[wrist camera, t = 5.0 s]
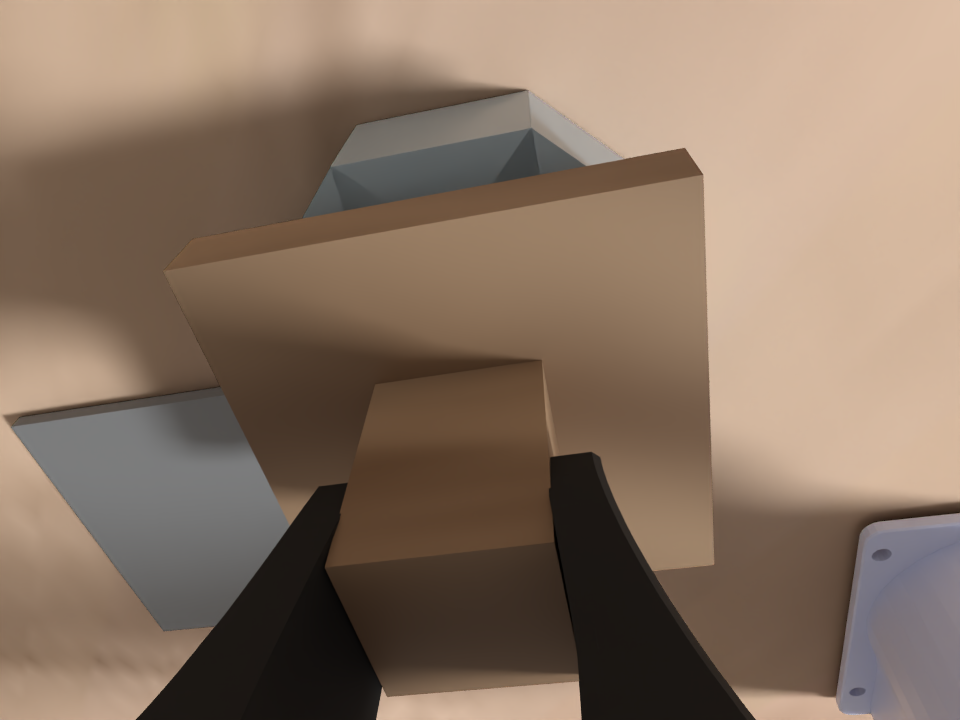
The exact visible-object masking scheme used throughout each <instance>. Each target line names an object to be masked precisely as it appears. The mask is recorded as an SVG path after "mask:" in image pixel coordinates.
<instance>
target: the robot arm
mask: <svg viewBox="0 0 960 720" xmlns="http://www.w3.org/2000/svg"><path fill="white" fill-rule="evenodd" d="M550 483H551V488H549V498H550V504H551V509H552V515H553V520H554V525H555V531H556V536H557V541H558V547H559V552H560V557H561V563H562V568H563V573H564V579H565V584H566V589H567V595H568V600H569V605H570V611H571V616H572V621H573V628H574V635H575V643H576V650H577V658H578V672H579V687H580V701H581V716H582V720H756V719H755V718H754V717H753V716H752V714H751V713H750V712H749V711H748V709H747V708H746V707H745V705H744V704H743V703H742V701H741V700H740V699H739V697H738V696H737V695H736V694H735V692H734V691H733V690H732V688H731V687H730V686H729V684H728V683H727V682H726V680H725V679H724V678H723V676H722V675H721V674H720V672H719V671H718V670H717V668H716V667H715V665H714V664H713V663H712V661H711V660H710V658H709V657H708V656H707V654H706V653H705V651H704V650H703V648H702V647H701V646H700V644H699V643H698V641H697V640H696V638H695V637H694V636H693V634H692V633H691V631H690V630H689V628H688V627H687V625H686V623H685V622H684V620H683V619H682V617H681V616H680V614H679V613H678V611H677V610H676V608H675V607H674V605H673V604H672V602H671V601H670V599H669V597H668V596H667V594H666V593H665V591H664V589H663V588H662V586H661V585H660V583H659V581H658V580H657V578H656V576H655V575H654V573H653V571H652V569H651V568H650V566H649V564H648V562H647V561H646V559H645V557H644V555H643V554H642V552H641V550H640V548H639V547H638V545H637V543H636V541H635V540H634V538H633V536H632V534H631V532H630V530H629V528H628V526H627V524H626V522H625V520H624V518H623V516H622V514H621V512H620V510H619V508H618V506H617V503H616V501H615V499H614V496H613V494H612V492H611V489H610V487H609V484H608V482H607V479H606V476H605V473H604V470H603V466H602V462H601V458H600V457H599V456H598V455H596V454H595V453H593V452H585V453H577V454H569V455H562V456H554V457H550ZM347 484H348V483H341V484H334V485H326V486H319V487H318V488H317V489H316V491H315V492H314V494H313V495H312V496H311V498H310V499H309V500H308V502H307V503H306V504H305V506H304V507H303V508H302V510H301V511H300V512H299V514H298V515H297V517H296V518H295V519H294V521H293V522H292V523H291V525H290V526H289V528H288V529H287V530H286V532H285V533H284V535H283V536H282V537H281V539H280V540H279V542H278V543H277V544H276V546H275V547H274V549H273V550H272V551H271V553H270V554H269V555H268V557H267V558H266V560H265V561H264V562H263V564H262V565H261V567H260V568H259V569H258V571H257V572H256V573H255V575H254V576H253V577H252V579H251V580H250V581H249V583H248V584H247V585H246V587H245V588H244V589H243V591H242V592H241V593H240V595H239V596H238V597H237V599H236V600H235V601H234V603H233V604H232V605H231V607H230V608H229V609H228V611H227V612H226V613H225V615H224V616H223V617H222V618H221V620H220V621H219V622H218V623H217V625H216V626H215V627H214V628H213V630H212V631H211V632H210V633H209V635H208V636H207V637H206V638H205V640H204V641H203V642H202V643H201V644H200V646H199V647H198V648H197V649H196V651H195V652H194V653H193V654H192V656H191V657H190V658H189V659H188V660H187V662H186V663H185V664H184V665H183V667H182V668H181V669H180V670H179V672H178V673H177V674H176V675H175V676H174V677H173V679H172V680H171V681H170V682H169V683H168V684H167V686H166V687H165V688H164V689H163V690H162V691H161V692H160V694H159V695H158V696H157V697H156V698H155V699H154V700H153V701H152V703H151V704H150V705H149V706H148V707H147V708H146V709H145V710H144V711H143V713H142V714H141V715H140V716H139V717H138V718H137V719H136V720H376V717H377V712H378V706H379V701H380V696H381V690H382V685H381V683H380V681H379V679H378V677H377V675H376V673H375V671H374V669H373V667H372V665H371V662H370V660H369V658H368V656H367V654H366V652H365V650H364V648H363V646H362V644H361V642H360V640H359V638H358V636H357V634H356V631H355V629H354V627H353V625H352V623H351V621H350V619H349V617H348V615H347V613H346V611H345V609H344V607H343V605H342V603H341V600H340V598H339V596H338V594H337V592H336V590H335V588H334V586H333V584H332V582H331V580H330V578H329V576H328V574H327V571H326V569H325V564H326V561H327V557H328V553H329V550H330V546H331V542H332V539H333V537H334V534H335V531H336V529H337V526H338V524H339V520H340V516H341V514H339V513H340V510H341V506H342V503H343V499H344V495H345V492H346V488H347ZM836 702H837V705H838V707H839V710H840V711H841V712H842V713H845V714H848V715H857V714H872V717H873V719H874V720H960V513H955V514H946V515H936V516H927V517H917V518H908V519H899V520H889V521H880V522H875V523H872V524H870V525H868V526H866V527H865V528H864V529H863V530H862V531H861V534H860V536H859V543H858V550H857V557H856V564H855V570H854V577H853V584H852V591H851V598H850V605H849V611H848V618H847V625H846V632H845V639H844V646H843V652H842V659H841V666H840V673H839V680H838V687H837V693H836Z"/></svg>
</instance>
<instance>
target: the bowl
mask: <svg viewBox="0 0 960 720" xmlns="http://www.w3.org/2000/svg"><path fill="white" fill-rule="evenodd" d="M622 159H624V158H622V157H621V156H619V155H618V154H617V153H615V152H614V151H612V150H611V149H610V148H608V147H607V146H605V145H604V144H603V143H601V142H600V141H598V140H597V139H596V138H594V137H593V136H591V135H590V134H589V133H587V132H586V131H584V130H583V129H582V128H580V127H579V126H577V125H576V124H575V123H573V122H572V121H570V120H569V119H568V118H566V117H565V116H563V115H562V114H561V113H559V112H558V111H556V110H555V109H554V108H552V107H551V106H549V105H548V104H547V103H545V102H544V101H543V100H541V99H540V98H538V97H537V96H536V95H534V94H533V93H531V92H530V91H529V90H528V91H523V92H518V93H513V94H508V95H503V96H498V97H493V98H488V99H483V100H478V101H473V102H468V103H463V104H458V105H453V106H448V107H443V108H438V109H433V110H428V111H424V112H419V113H414V114H409V115H404V116H399V117H394V118H389V119H384V120H379V121H374V122H369V123H364V124H359V125H356V127H355V128H354V130H353V131H352V133H351V134H350V136H349V138H348V139H347V141H346V142H345V144H344V146H343V147H342V149H341V150H340V152H339V154H338V155H337V157H336V158H335V160H334V162H333V163H332V165H331V166H330V169H329V171H328V173H327V174H326V176H325V178H324V180H323V182H322V183H321V185H320V187H319V189H318V191H317V192H316V194H315V196H314V198H313V200H312V202H311V203H310V205H309V207H308V209H307V211H306V212H305V214H304V216H303V218H308V217H314V216H319V215H325V214H330V213H335V212H341V211H346V210H352V209H357V208H362V207H368V206H373V205H379V204H384V203H389V202H395V201H400V200H406V199H411V198H417V197H422V196H427V195H433V194H438V193H444V192H449V191H454V190H460V189H465V188H471V187H476V186H482V185H487V184H492V183H498V182H503V181H509V180H514V179H519V178H525V177H530V176H536V175H541V174H546V173H552V172H557V171H563V170H568V169H574V168H579V167H584V166H590V165H595V164H601V163H606V162H611V161H617V160H622ZM303 218H302V219H303Z"/></svg>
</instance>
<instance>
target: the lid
mask: <svg viewBox="0 0 960 720" xmlns="http://www.w3.org/2000/svg"><path fill="white" fill-rule="evenodd" d="M163 273H164V275H165V277H166V279H167V281H168V283H169V285H170V287H171V289H172V291H173V293H174V295H175V297H176V299H177V301H178V303H179V305H180V307H181V309H182V311H183V313H184V315H185V317H186V319H187V321H188V323H189V325H190V327H191V329H192V331H193V333H194V335H195V337H196V339H197V341H198V343H199V345H200V347H201V349H202V351H203V353H204V355H205V357H206V359H207V361H208V363H209V365H210V367H211V369H212V371H213V373H214V375H215V377H216V379H217V381H218V383H219V385H220V387H221V389H222V391H223V393H224V395H225V397H226V399H227V401H228V403H229V405H230V407H231V409H232V411H233V413H234V415H235V417H236V419H237V421H238V423H239V425H240V427H241V429H242V431H243V433H244V435H245V437H246V439H247V441H248V443H249V445H250V447H251V449H252V451H253V453H254V455H255V457H256V459H257V461H258V463H259V465H260V467H261V469H262V471H263V473H264V475H265V477H266V479H267V481H268V483H269V485H270V487H271V489H272V491H273V493H274V495H275V497H276V499H277V501H278V503H279V505H280V507H281V509H282V511H283V513H284V515H285V517H286V519H287V521H288V523H289V525H291V523H292V522H293V521H294V519H295V518H296V517H297V515H298V514H299V512H300V511H301V510H302V508H303V507H304V506H305V504H306V503H307V502H308V500H309V499H310V498H311V496H312V495H313V494H314V492H315V491H316V489H317V488H318V487H319V486H326V485H334V484H341V483H348V484H347V488H346V492H345V495H344V499H343V503H342V506H341V510H340V513H339V514H341V516H340V520H339V524H338V526H337V529H336V531H335V534H334V537H333V539H332V542H331V546H330V550H329V553H328V557H327V561H326V564H325V569H326V571H327V574H328V576H329V578H330V580H331V582H332V584H333V586H334V588H335V590H336V592H337V594H338V596H339V598H340V600H341V603H342V605H343V607H344V609H345V611H346V613H347V615H348V617H349V619H350V621H351V623H352V625H353V627H354V629H355V631H356V634H357V636H358V638H359V640H360V642H361V644H362V646H363V648H364V650H365V652H366V654H367V656H368V658H369V660H370V662H371V665H372V667H373V669H374V671H375V673H376V675H377V677H378V679H379V681H380V683H381V685H382V687H383V689H384V691H385V693H386V696H387V697H391V696H404V695H416V694H428V693H440V692H453V691H465V690H477V689H489V688H502V687H514V686H526V685H538V684H551V683H563V682H575V681H579V672H578V658H577V650H576V643H575V635H574V628H573V621H572V616H571V611H570V605H569V600H568V595H567V589H566V584H565V579H564V573H563V568H562V563H561V557H560V552H559V547H558V541H557V536H556V531H555V525H554V520H553V515H552V509H551V504H550V498H549V488H551V483H550V457H554V456H562V455H569V454H577V453H585V452H593V453H595V454H596V455H598V456H599V457H600V458H601V462H602V466H603V470H604V473H605V476H606V479H607V482H608V484H609V487H610V489H611V492H612V494H613V496H614V499H615V501H616V503H617V506H618V508H619V510H620V512H621V514H622V516H623V518H624V520H625V522H626V524H627V526H628V528H629V530H630V532H631V534H632V536H633V538H634V540H635V541H636V543H637V545H638V547H639V548H640V550H641V552H642V554H643V555H644V557H645V559H646V561H647V562H648V564H649V566H650V568H651V569H652V571H660V570H670V569H680V568H690V567H699V566H709V565H714V539H713V504H712V468H711V433H710V397H709V362H708V326H707V291H706V255H705V220H704V184H703V174H702V172H701V171H700V169H699V168H698V166H697V165H696V163H695V162H694V161H693V159H692V158H691V156H690V155H689V153H688V152H687V150H686V149H685V148H682V149H676V150H671V151H666V152H660V153H655V154H649V155H644V156H638V157H633V158H628V159H622V160H617V161H611V162H606V163H601V164H595V165H590V166H584V167H579V168H574V169H568V170H563V171H557V172H552V173H546V174H541V175H536V176H530V177H525V178H519V179H514V180H509V181H503V182H498V183H492V184H487V185H482V186H476V187H471V188H465V189H460V190H454V191H449V192H444V193H438V194H433V195H427V196H422V197H417V198H411V199H406V200H400V201H395V202H389V203H384V204H379V205H373V206H368V207H362V208H357V209H352V210H346V211H341V212H335V213H330V214H325V215H319V216H314V217H308V218H303V219H297V220H292V221H287V222H281V223H276V224H270V225H265V226H260V227H254V228H249V229H243V230H238V231H233V232H227V233H222V234H216V235H211V236H205V237H200V238H195V239H192V240H191V241H190V242H189V243H188V245H187V246H186V247H185V248H184V249H183V250H182V251H181V252H180V253H179V254H178V255H177V256H176V258H175V259H174V260H173V261H172V262H171V263H170V264H169V265H168V266H167V267H166V268H165V269H164V271H163Z"/></svg>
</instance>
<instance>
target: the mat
mask: <svg viewBox="0 0 960 720" xmlns="http://www.w3.org/2000/svg"><path fill="white" fill-rule="evenodd" d="M11 428H12V429H13V431H14V432H15V433H16V435H17V436H18V437H19V439H20V440H21V441H22V443H23V444H24V445H25V447H26V448H27V449H28V451H29V452H30V453H31V455H32V456H33V457H34V459H35V460H36V461H37V463H38V464H39V465H40V467H41V468H42V469H43V471H44V472H45V473H46V475H47V476H48V477H49V479H50V480H51V481H52V483H53V484H54V485H55V487H56V488H57V489H58V491H59V492H60V493H61V495H62V496H63V497H64V499H65V500H66V501H67V503H68V504H69V505H70V507H71V508H72V509H73V511H74V512H75V513H76V515H77V516H78V517H79V519H80V520H81V521H82V523H83V524H84V525H85V527H86V528H87V529H88V531H89V532H90V534H91V535H92V536H93V538H94V539H95V540H96V542H97V543H98V544H99V546H100V547H101V548H102V550H103V551H104V552H105V554H106V555H107V556H108V558H109V559H110V560H111V562H112V563H113V564H114V566H115V567H116V568H117V570H118V571H119V572H120V574H121V575H122V576H123V578H124V579H125V580H126V582H127V583H128V584H129V586H130V587H131V588H132V590H133V591H134V592H135V594H136V595H137V596H138V598H139V599H140V600H141V602H142V603H143V604H144V606H145V607H146V608H147V610H148V611H149V612H150V614H151V615H152V616H153V618H154V619H155V620H156V622H157V623H158V624H159V626H160V627H161V628H162V630H163V631H172V630H182V629H192V628H202V627H213V626H216V625H217V623H218V622H219V621H220V620H221V618H222V617H223V616H224V615H225V613H226V612H227V611H228V609H229V608H230V607H231V605H232V604H233V603H234V601H235V600H236V599H237V597H238V596H239V595H240V593H241V592H242V591H243V589H244V588H245V587H246V585H247V584H248V583H249V581H250V580H251V579H252V577H253V576H254V575H255V573H256V572H257V571H258V569H259V568H260V567H261V565H262V564H263V562H264V561H265V560H266V558H267V557H268V555H269V554H270V553H271V551H272V550H273V549H274V547H275V546H276V544H277V543H278V542H279V540H280V539H281V537H282V536H283V535H284V533H285V532H286V530H287V529H288V528H289V526H290V525H289V523H288V521H287V519H286V517H285V515H284V513H283V511H282V509H281V507H280V505H279V503H278V501H277V499H276V497H275V495H274V493H273V491H272V489H271V487H270V485H269V483H268V481H267V479H266V477H265V475H264V473H263V471H262V469H261V467H260V465H259V463H258V461H257V459H256V457H255V455H254V453H253V451H252V449H251V447H250V445H249V443H248V441H247V439H246V437H245V435H244V433H243V431H242V429H241V427H240V425H239V423H238V421H237V419H236V417H235V415H234V413H233V411H232V409H231V407H230V405H229V403H228V401H227V399H226V397H225V395H224V393H223V391H222V389H221V387H218V388H211V389H205V390H198V391H191V392H185V393H178V394H172V395H165V396H158V397H152V398H145V399H138V400H132V401H125V402H118V403H112V404H105V405H99V406H92V407H85V408H79V409H72V410H65V411H59V412H52V413H45V414H39V415H32V416H25V417H19V419H18V420H17V421H16V422H15V423H14V424H13V425H12V426H11Z"/></svg>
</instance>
